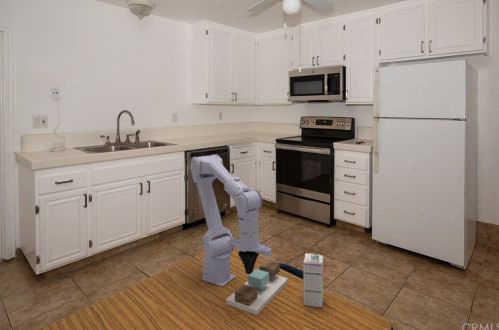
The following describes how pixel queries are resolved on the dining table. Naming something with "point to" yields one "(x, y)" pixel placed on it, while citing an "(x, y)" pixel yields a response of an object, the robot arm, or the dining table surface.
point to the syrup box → (313, 280)
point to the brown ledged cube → (246, 294)
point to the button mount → (260, 295)
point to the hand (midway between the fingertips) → (249, 272)
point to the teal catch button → (258, 278)
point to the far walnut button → (270, 268)
